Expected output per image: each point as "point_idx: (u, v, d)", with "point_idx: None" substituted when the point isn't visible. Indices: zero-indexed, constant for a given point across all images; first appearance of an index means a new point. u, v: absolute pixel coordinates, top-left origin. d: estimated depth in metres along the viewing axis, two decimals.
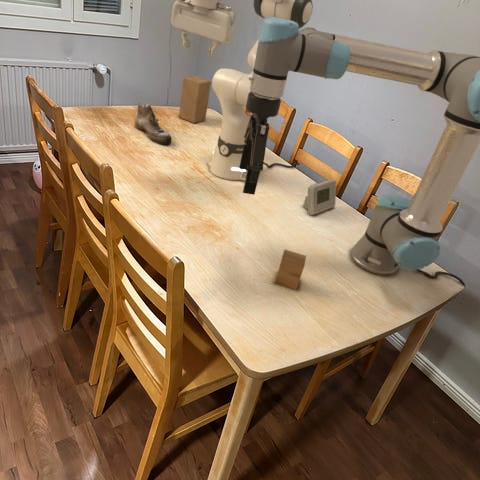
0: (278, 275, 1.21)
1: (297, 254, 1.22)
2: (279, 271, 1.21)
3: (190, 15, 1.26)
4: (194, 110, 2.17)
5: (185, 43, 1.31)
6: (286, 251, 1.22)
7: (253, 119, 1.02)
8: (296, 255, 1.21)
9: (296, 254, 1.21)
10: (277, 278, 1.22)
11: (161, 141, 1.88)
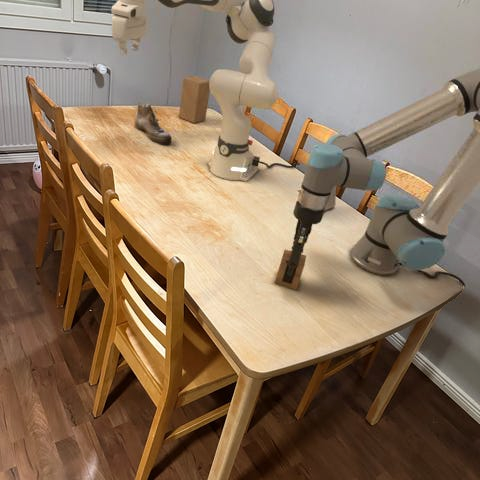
0: (278, 275, 1.21)
1: None
2: (279, 271, 1.21)
3: (130, 26, 1.48)
4: (194, 110, 2.17)
5: (126, 50, 1.51)
6: (286, 251, 1.22)
7: (300, 222, 1.15)
8: None
9: None
10: (277, 278, 1.22)
11: (161, 141, 1.88)
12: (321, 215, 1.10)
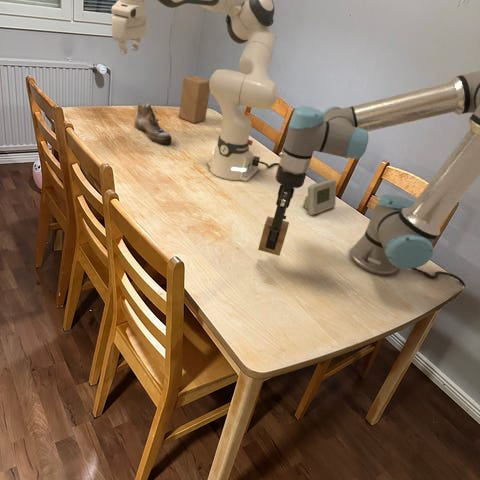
0: (261, 241, 1.23)
1: None
2: (262, 237, 1.22)
3: (130, 26, 1.48)
4: (194, 110, 2.17)
5: (126, 50, 1.51)
6: (269, 218, 1.23)
7: (282, 187, 1.17)
8: None
9: None
10: (260, 244, 1.24)
11: (161, 141, 1.88)
12: (302, 179, 1.12)
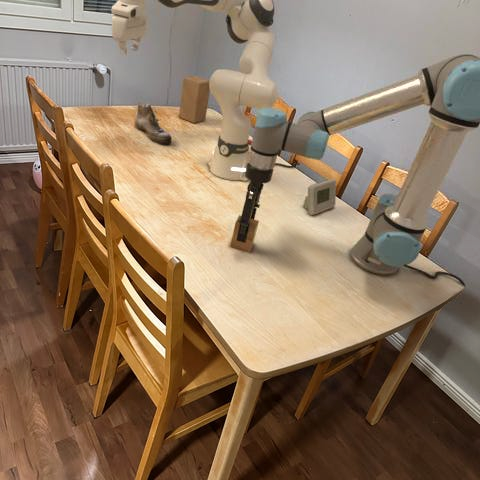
0: (233, 238, 1.33)
1: (250, 219, 1.33)
2: (233, 235, 1.32)
3: (130, 26, 1.48)
4: (194, 110, 2.17)
5: (126, 50, 1.51)
6: (240, 217, 1.33)
7: None
8: None
9: None
10: (232, 241, 1.33)
11: (161, 141, 1.88)
12: (269, 175, 1.21)
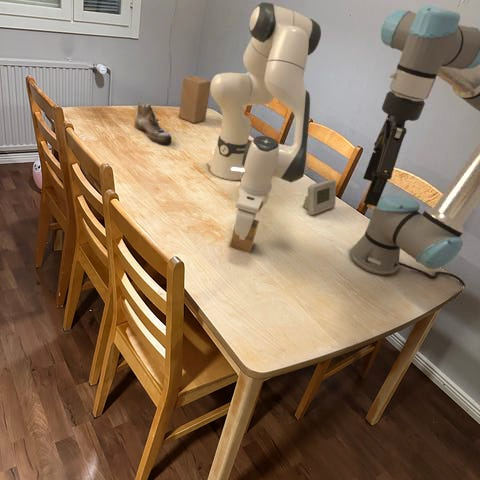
0: (233, 238, 1.33)
1: None
2: (233, 234, 1.32)
3: None
4: (194, 110, 2.17)
5: None
6: None
7: (388, 122, 0.90)
8: None
9: None
10: (232, 241, 1.33)
11: (161, 141, 1.88)
12: (421, 108, 0.85)
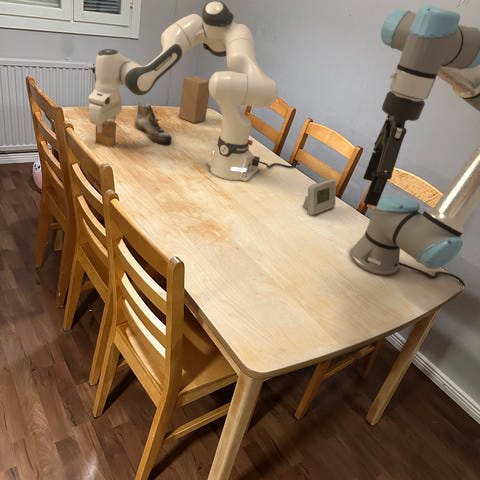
0: (96, 136, 1.77)
1: (109, 121, 1.77)
2: (96, 132, 1.76)
3: (106, 109, 1.69)
4: (194, 110, 2.17)
5: (102, 129, 1.73)
6: None
7: (388, 122, 0.90)
8: (108, 122, 1.77)
9: (108, 121, 1.77)
10: (96, 138, 1.78)
11: (161, 141, 1.88)
12: (421, 108, 0.85)
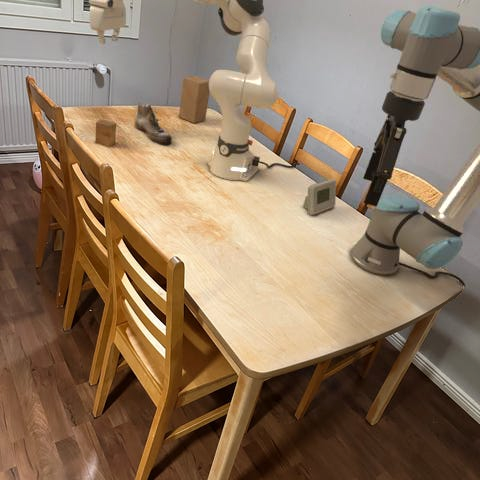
0: (96, 136, 1.77)
1: (109, 121, 1.77)
2: (96, 132, 1.76)
3: (108, 16, 1.52)
4: (194, 110, 2.17)
5: (104, 40, 1.55)
6: (102, 120, 1.77)
7: (388, 122, 0.90)
8: (108, 122, 1.77)
9: (108, 121, 1.77)
10: (96, 138, 1.78)
11: (161, 141, 1.88)
12: (421, 108, 0.85)
